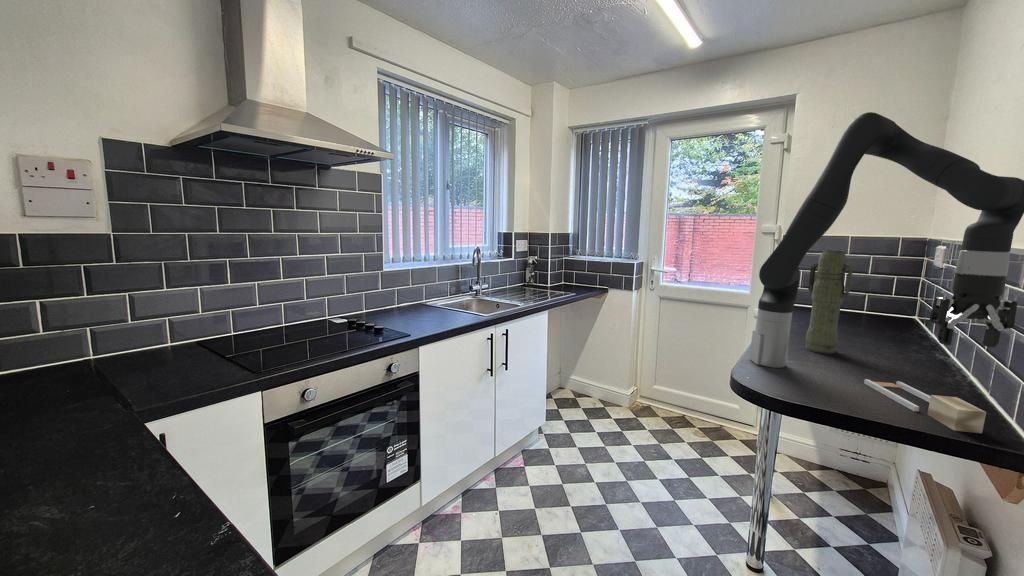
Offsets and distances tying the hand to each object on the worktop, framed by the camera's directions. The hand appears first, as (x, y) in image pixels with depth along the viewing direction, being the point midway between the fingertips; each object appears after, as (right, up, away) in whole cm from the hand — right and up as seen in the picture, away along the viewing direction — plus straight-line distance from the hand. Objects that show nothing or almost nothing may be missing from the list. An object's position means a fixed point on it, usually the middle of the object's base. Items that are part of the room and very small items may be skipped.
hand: (966, 345), depth 94 cm
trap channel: (+2, -16, +16) cm, 22 cm away
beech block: (-1, -18, +2) cm, 18 cm away
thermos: (+9, -10, +57) cm, 58 cm away
